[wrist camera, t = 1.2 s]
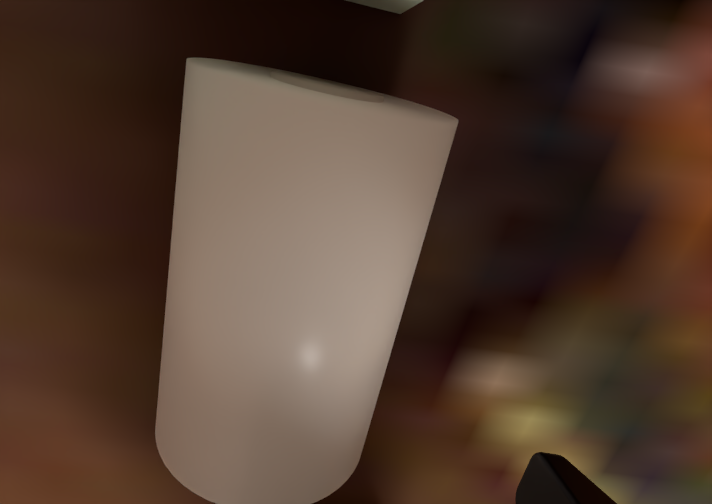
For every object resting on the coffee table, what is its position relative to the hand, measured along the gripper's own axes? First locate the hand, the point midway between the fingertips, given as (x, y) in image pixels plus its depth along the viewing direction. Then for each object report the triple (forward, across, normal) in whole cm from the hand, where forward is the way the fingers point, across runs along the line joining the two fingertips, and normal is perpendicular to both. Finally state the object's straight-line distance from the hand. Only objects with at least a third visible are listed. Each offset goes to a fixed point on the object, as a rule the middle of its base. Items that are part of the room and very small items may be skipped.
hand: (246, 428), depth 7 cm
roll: (+5, 0, 0) cm, 5 cm away
